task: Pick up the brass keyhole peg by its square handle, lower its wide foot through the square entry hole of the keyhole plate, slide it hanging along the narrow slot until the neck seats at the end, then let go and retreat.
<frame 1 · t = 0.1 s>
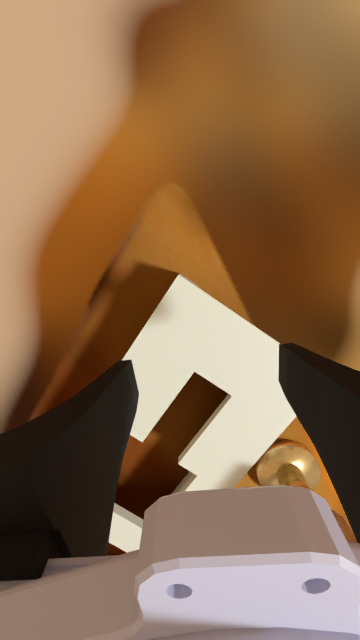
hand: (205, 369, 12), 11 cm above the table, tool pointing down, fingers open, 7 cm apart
keyhole peg: (284, 466, 25), on the table
keyhole plate: (171, 416, 24), on the table
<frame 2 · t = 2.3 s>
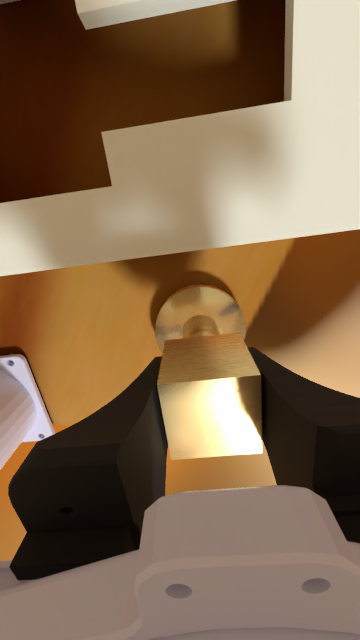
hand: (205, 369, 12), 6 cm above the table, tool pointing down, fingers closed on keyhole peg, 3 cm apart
keyhole peg: (199, 326, 17), on the table, touching gripper
keyhole plate: (138, 113, 13), on the table
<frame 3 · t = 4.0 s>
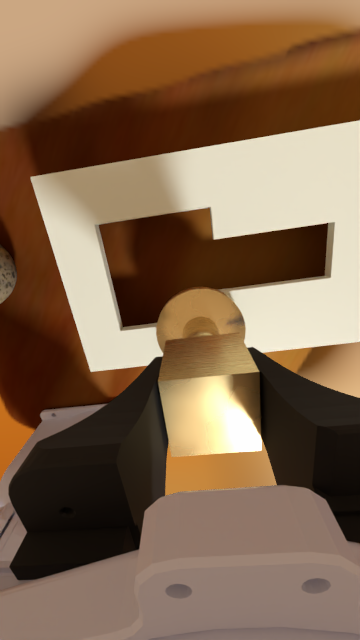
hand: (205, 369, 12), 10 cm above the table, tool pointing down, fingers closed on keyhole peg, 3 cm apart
keyhole peg: (199, 328, 18), point 5 cm above the table, touching gripper
decorative egg: (1, 265, 21), on the table
keyhole plate: (225, 257, 20), on the table
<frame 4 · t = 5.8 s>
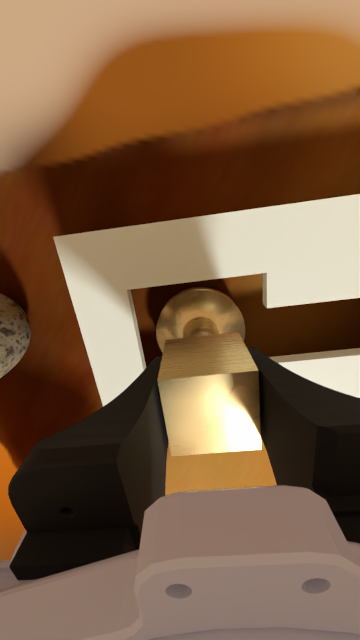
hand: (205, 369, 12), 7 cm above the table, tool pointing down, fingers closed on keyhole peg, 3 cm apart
keyhole peg: (199, 328, 18), point 1 cm above the table, touching gripper
decorative egg: (11, 316, 19), on the table
keyhole plate: (267, 313, 18), on the table
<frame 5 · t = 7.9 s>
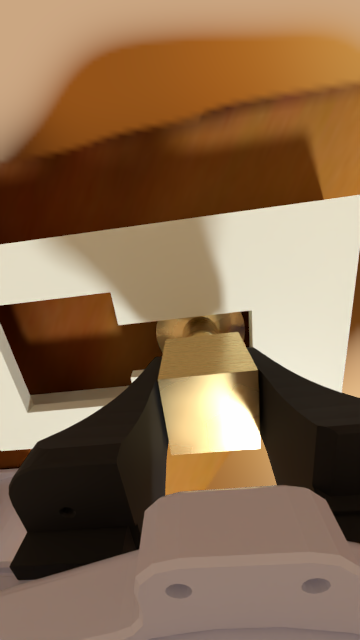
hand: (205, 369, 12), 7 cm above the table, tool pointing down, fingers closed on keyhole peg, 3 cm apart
keyhole peg: (199, 328, 18), point 1 cm above the table, touching gripper
keyhole plate: (152, 326, 18), on the table
when the fingers open (7 cm above the table, at t = 9.5 s): keyhole peg stays where it is, on the table.
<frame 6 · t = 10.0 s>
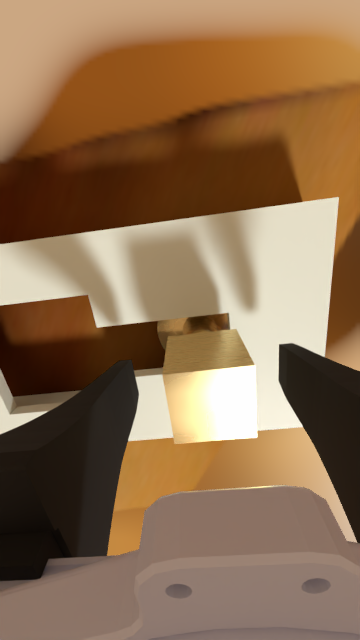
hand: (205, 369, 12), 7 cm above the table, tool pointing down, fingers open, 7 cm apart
keyhole peg: (198, 324, 18), on the table
keyhole plate: (135, 328, 19), on the table
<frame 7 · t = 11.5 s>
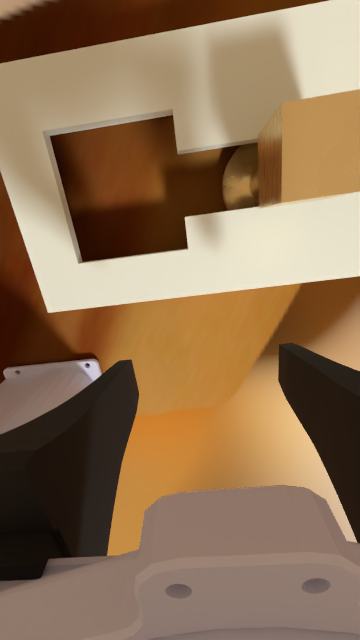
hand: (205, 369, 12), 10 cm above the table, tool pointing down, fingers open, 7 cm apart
keyhole peg: (262, 185, 18), on the table
keyhole plate: (197, 190, 19), on the table
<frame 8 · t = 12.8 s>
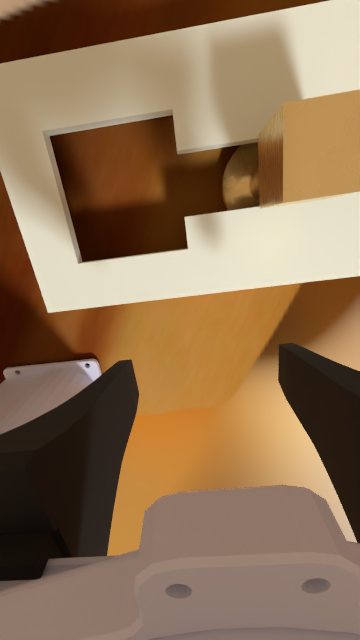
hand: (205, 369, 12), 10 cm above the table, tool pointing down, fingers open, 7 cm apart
keyhole peg: (261, 185, 18), on the table
keyhole plate: (197, 190, 19), on the table
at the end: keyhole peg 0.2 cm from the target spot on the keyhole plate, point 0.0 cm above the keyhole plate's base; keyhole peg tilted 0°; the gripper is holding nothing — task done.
